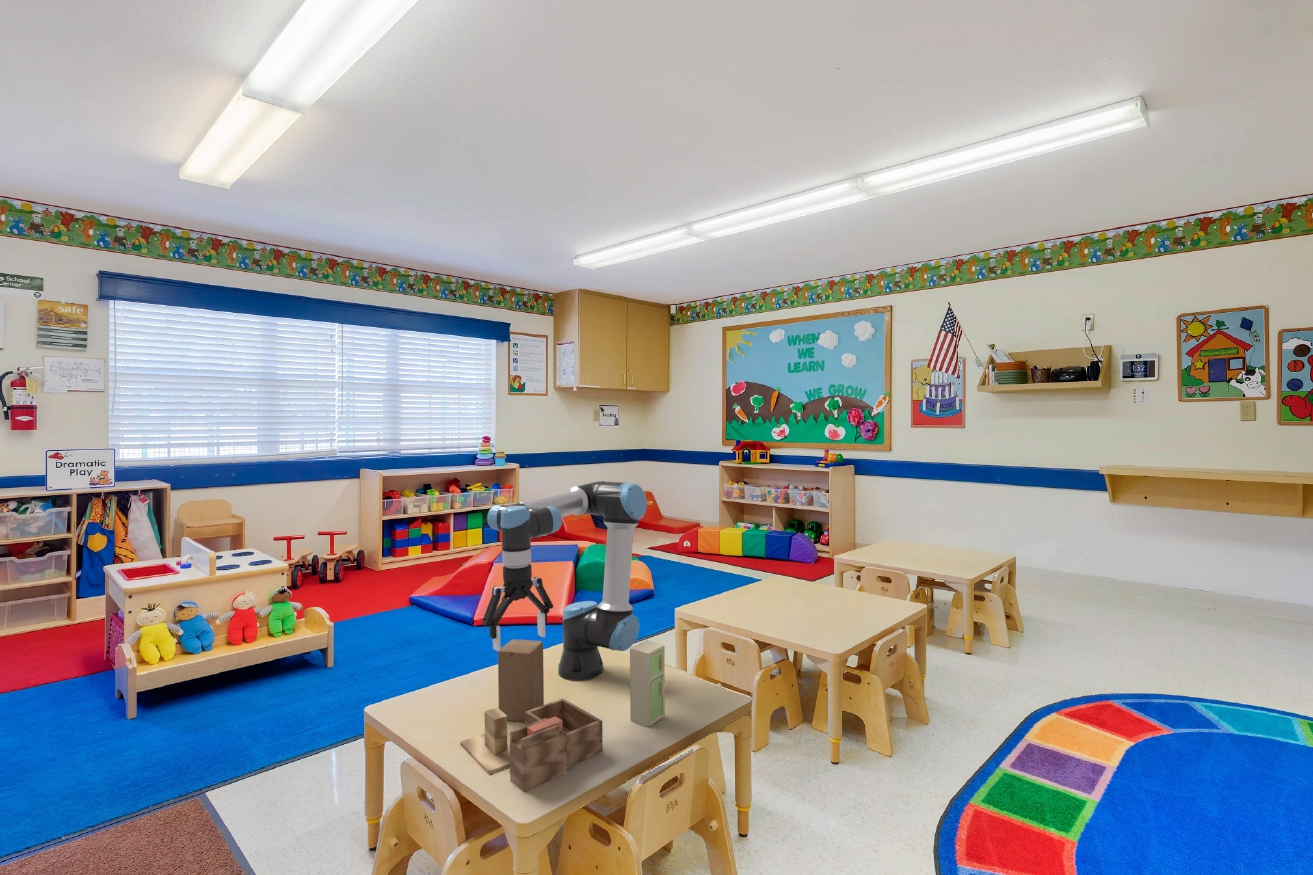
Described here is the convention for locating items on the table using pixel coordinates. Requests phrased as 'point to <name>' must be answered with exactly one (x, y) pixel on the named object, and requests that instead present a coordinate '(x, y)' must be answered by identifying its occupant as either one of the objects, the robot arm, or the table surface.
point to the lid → (491, 743)
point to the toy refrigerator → (647, 683)
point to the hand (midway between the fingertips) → (519, 642)
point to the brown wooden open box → (553, 743)
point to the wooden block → (520, 678)
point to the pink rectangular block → (544, 725)
